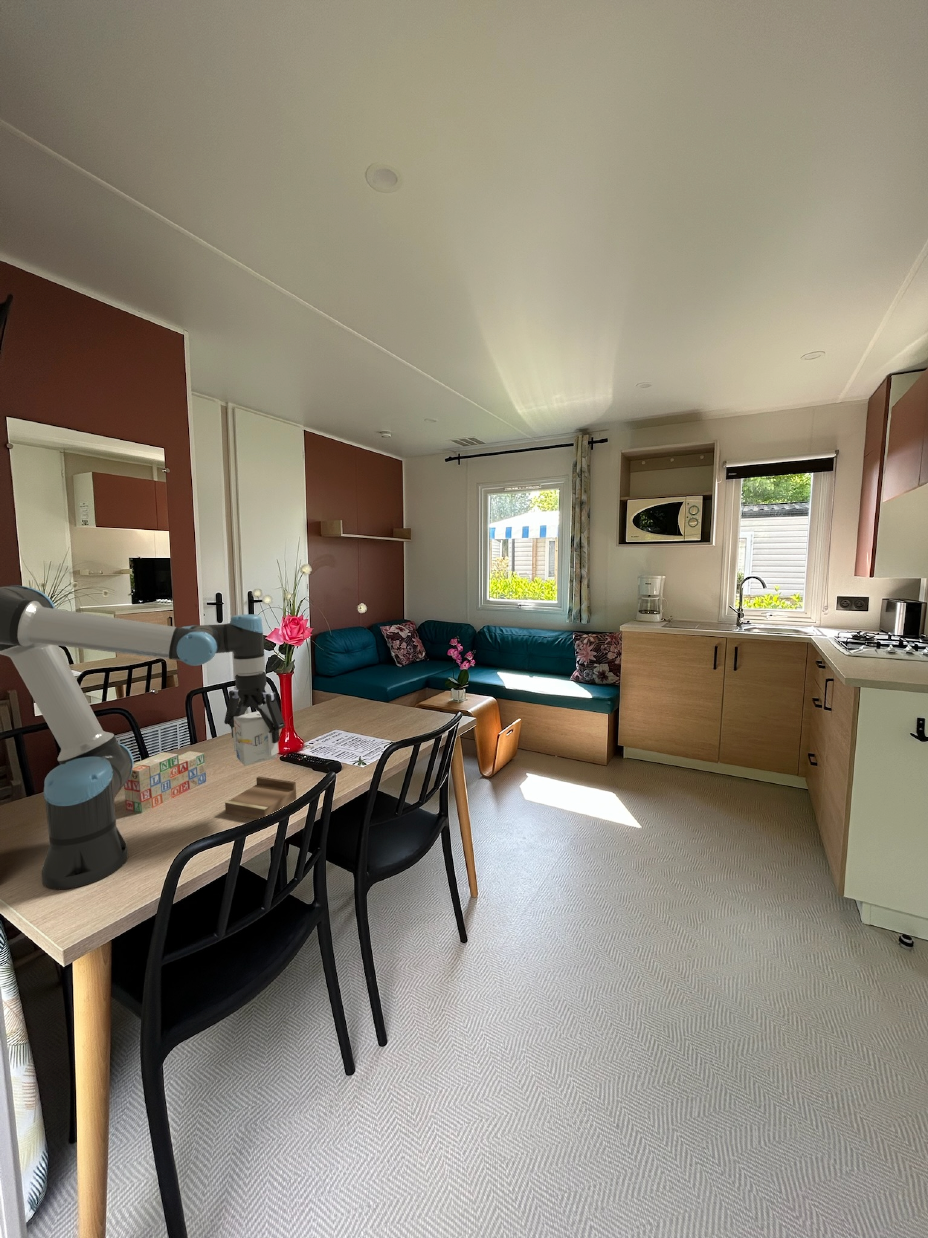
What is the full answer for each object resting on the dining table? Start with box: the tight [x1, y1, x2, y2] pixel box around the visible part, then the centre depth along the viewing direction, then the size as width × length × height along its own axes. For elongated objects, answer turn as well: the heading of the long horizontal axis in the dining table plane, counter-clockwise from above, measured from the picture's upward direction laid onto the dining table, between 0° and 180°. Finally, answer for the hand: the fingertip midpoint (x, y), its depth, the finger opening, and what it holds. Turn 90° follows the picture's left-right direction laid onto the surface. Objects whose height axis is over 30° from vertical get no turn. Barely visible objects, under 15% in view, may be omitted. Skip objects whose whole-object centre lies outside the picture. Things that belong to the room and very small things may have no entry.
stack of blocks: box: [123, 750, 207, 814], centre depth 143 cm, size 21×6×12 cm, turn 160°
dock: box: [224, 776, 297, 820], centre depth 136 cm, size 13×13×5 cm
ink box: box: [234, 710, 278, 767], centre depth 131 cm, size 9×8×12 cm
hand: (256, 751), depth 132 cm, fingers closed on ink box, 11 cm apart
